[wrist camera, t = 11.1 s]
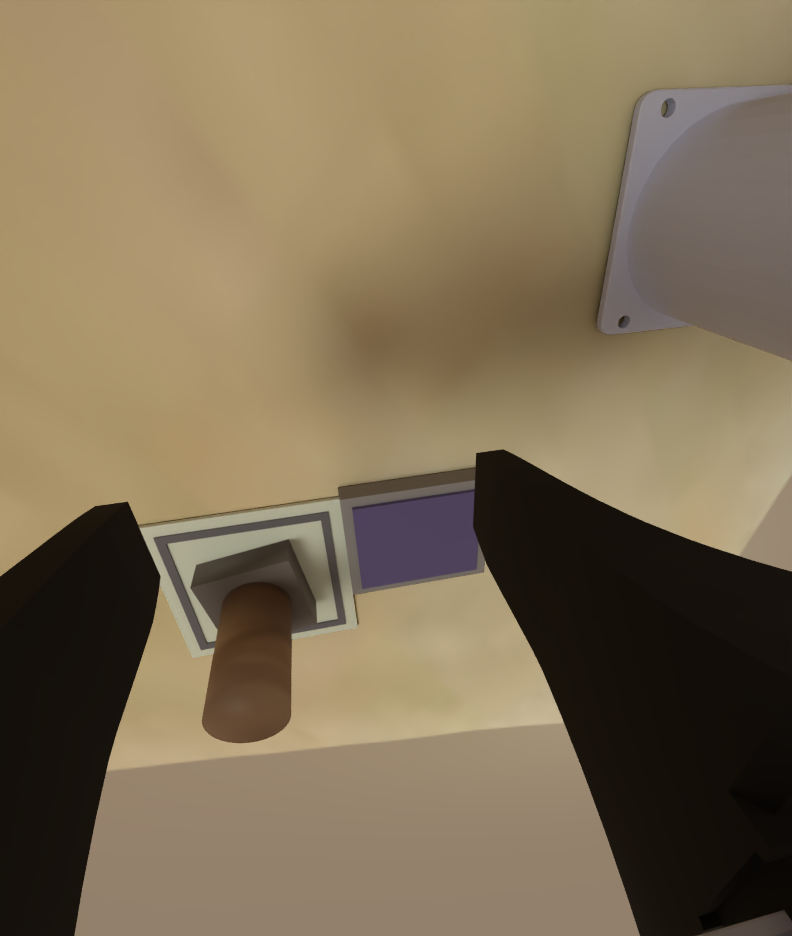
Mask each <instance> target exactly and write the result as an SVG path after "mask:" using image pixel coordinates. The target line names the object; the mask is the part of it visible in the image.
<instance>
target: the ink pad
mask: <svg viewBox="0 0 792 936" xmlns="http://www.w3.org/2000/svg"><path fill="white" fill-rule="evenodd" d="M475 471H476V468H472V469H465V470H458V471H451V472H444V473H437V474H430V475H423V476H416V477H409V478H402V479H395V480H388V481H381V482H374V483H367V484H360V485H353V486H346V487H339V488H338V492H339V499H340V507H341V514H342V521H343V528H344V535H345V542H346V549H347V556H348V563H349V570H350V577H351V584H352V591H353V595H356V594H361V593H367V592H373V591H379V590H384V589H390V588H396V587H402V586H407V585H413V584H419V583H425V582H430V581H436V580H442V579H448V578H453V577H459V576H465V575H471V574H477V573H482V572H484V565H485V558H484V556H483V553H482V551H481V548H480V545H479V543H478V540H477V537H476V534H475V531H474V529H473V513H474V492H475Z"/></svg>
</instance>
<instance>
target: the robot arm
mask: <svg viewBox="0 0 792 936" xmlns="http://www.w3.org/2000/svg"><path fill="white" fill-rule="evenodd" d="M664 101H666V102H667V104H668V110H667V112H666V114H665V116H664V117H663V116H662V115H661V107H662V104H663V103H664ZM622 316H624V321H623V323H622V324H621V325H618V321H619V319H620V318H621V317H622ZM686 326H696V327H699V328H702V329H705V330H708V331H710V332H713V333H716V334H719V335H721V336H724V337H727V338H730V339H732V340H735V341H738V342H741V343H744V344H746V345H749V346H752V347H755V348H757V349H760V350H763V351H766V352H768V353H771V354H774V355H777V356H780V357H782V358H785V359H788V360H791V361H792V84H788V85H762V86H736V87H710V88H684V89H658V90H653V91H650V92H647V93H645V94H644V95H642V96H641V97H640V99H639V100H638V102H637V103H636V107H635V110H634V115H633V120H632V126H631V132H630V137H629V143H628V149H627V154H626V160H625V166H624V171H623V177H622V183H621V188H620V194H619V200H618V205H617V211H616V217H615V222H614V228H613V234H612V239H611V245H610V251H609V256H608V262H607V268H606V273H605V279H604V285H603V290H602V296H601V302H600V307H599V313H598V319H597V328H598V330H599V331H600V332H602V333H604V334H606V335H614V334H623V333H632V332H641V331H650V330H659V329H668V328H677V327H686ZM473 529H474V531H475V534H476V537H477V540H478V543H479V545H480V548H481V551H482V553H483V556H484V558H485V561H486V564H487V566H488V568H489V570H490V572H491V574H492V575H493V577H494V579H495V581H496V583H497V585H498V587H499V589H500V591H501V592H502V594H503V596H504V598H505V600H506V602H507V604H508V605H509V607H510V609H511V611H512V613H513V615H514V616H515V618H516V620H517V622H518V624H519V626H520V628H521V629H522V631H523V633H524V635H525V637H526V639H527V641H528V642H529V644H530V646H531V648H532V650H533V652H534V654H535V656H536V658H537V660H538V662H539V664H540V666H541V668H542V670H543V673H544V675H545V678H546V680H547V682H548V685H549V687H550V690H551V692H552V694H553V697H554V699H555V702H556V704H557V706H558V709H559V711H560V714H561V716H562V719H563V721H564V724H565V726H566V729H567V731H568V734H569V736H570V739H571V741H572V744H573V747H574V749H575V752H576V754H577V757H578V759H579V762H580V764H581V767H582V770H583V772H584V775H585V778H586V781H587V783H588V786H589V788H590V791H591V794H592V797H593V800H594V802H595V805H596V808H597V811H598V813H599V816H600V819H601V821H602V824H603V827H604V829H605V833H606V835H607V838H608V841H609V844H610V847H611V850H612V853H613V856H614V859H615V862H616V865H617V868H618V870H619V873H620V876H621V879H622V882H623V885H624V888H625V891H626V894H627V897H628V900H629V903H630V906H631V909H632V912H633V915H634V918H635V921H636V924H637V928H638V930H639V934H640V936H792V572H791V571H787V570H784V569H780V568H776V567H773V566H770V565H766V564H763V563H759V562H756V561H752V560H749V559H746V558H743V557H740V556H737V555H734V554H731V553H728V552H724V551H721V550H718V549H715V548H712V547H709V546H706V545H703V544H701V543H698V542H695V541H692V540H689V539H687V538H684V537H681V536H679V535H676V534H674V533H671V532H669V531H666V530H664V529H661V528H659V527H656V526H654V525H651V524H649V523H646V522H644V521H642V520H639V519H637V518H635V517H632V516H630V515H628V514H626V513H624V512H622V511H620V510H618V509H615V508H613V507H611V506H609V505H607V504H605V503H603V502H601V501H599V500H597V499H595V498H593V497H591V496H589V495H587V494H585V493H583V492H581V491H579V490H577V489H576V488H574V487H572V486H570V485H568V484H566V483H564V482H563V481H561V480H559V479H557V478H555V477H554V476H552V475H550V474H548V473H546V472H545V471H543V470H541V469H539V468H538V467H536V466H534V465H532V464H530V463H529V462H527V461H525V460H523V459H521V458H519V457H518V456H516V455H514V454H512V453H510V452H508V451H505V450H495V451H488V452H481V453H476V471H475V492H474V513H473ZM160 578H161V576H160V574H159V572H158V569H157V567H156V565H155V562H154V560H153V558H152V556H151V553H150V551H149V549H148V547H147V544H146V542H145V540H144V537H143V535H142V533H141V531H140V528H139V526H138V524H137V522H136V519H135V517H134V515H133V512H132V510H131V508H130V506H129V503H128V502H123V503H115V504H108V505H101V506H95V507H93V508H92V509H90V510H89V511H87V512H85V513H84V514H82V515H81V516H80V517H78V518H77V519H75V520H74V521H73V522H71V523H70V524H69V525H67V526H66V527H65V528H63V529H62V530H61V531H59V532H58V533H57V534H55V535H54V536H53V537H51V538H50V539H49V540H47V541H46V542H45V543H44V544H42V545H41V546H40V547H38V548H37V549H36V550H34V551H33V552H32V553H30V554H29V555H28V556H27V557H25V558H24V559H23V560H21V561H20V562H19V563H17V564H16V565H15V566H13V567H12V568H11V569H9V570H8V571H7V572H6V573H4V574H3V575H2V576H0V936H74V934H75V928H76V922H77V916H78V910H79V904H80V897H81V892H82V886H83V881H84V875H85V870H86V865H87V860H88V855H89V850H90V844H91V839H92V835H93V829H94V824H95V819H96V815H97V810H98V806H99V801H100V797H101V792H102V788H103V783H104V779H105V774H106V770H107V765H108V761H109V757H110V754H111V750H112V747H113V743H114V740H115V736H116V733H117V730H118V727H119V724H120V721H121V718H122V715H123V712H124V709H125V706H126V703H127V700H128V697H129V694H130V691H131V688H132V685H133V682H134V679H135V676H136V673H137V670H138V667H139V664H140V661H141V658H142V655H143V652H144V649H145V646H146V643H147V639H148V636H149V633H150V630H151V627H152V623H153V619H154V614H155V609H156V604H157V598H158V591H159V585H160Z"/></svg>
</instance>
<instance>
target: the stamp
mask: <svg viewBox="0 0 792 936" xmlns="http://www.w3.org/2000/svg"><path fill="white" fill-rule="evenodd" d="M190 588H191V590H192V592H193V593H194V595H195V596H196V598H197V599H198V601H199V602H200V604H201V605H202V607H203V608H204V610H205V612H206V613H207V615H208V616H209V618H210V619H211V621H212V622H213V624H214V625H215V627H216V629H217V630H218V631H217V637H216V642H215V648H214V654H213V660H212V665H211V671H210V677H209V683H208V688H207V694H206V700H205V706H204V711H203V717H202V725H203V727H204V729H205V731H206V732H207V733H208V734H210V735H211V736H213V737H214V738H216V739H219V740H222V741H226V742H232V743H249V742H256V741H260V740H264V739H266V738H269V737H271V736H273V735H275V734H277V733H279V732H280V731H281V730H283V729H284V728H285V727H286V726H287V724H288V723H289V721H290V718H291V657H292V631H294V630H297V629H300V628H304V627H307V626H311V625H314V624H317V609H316V600H315V598H314V595H313V593H312V591H311V589H310V586H309V584H308V582H307V579H306V577H305V575H304V573H303V570H302V568H301V566H300V564H299V561H298V559H297V557H296V555H295V552H294V550H293V548H292V545H291V543H290V541H289V539H287V540H284V541H280V542H277V543H273V544H269V545H266V546H262V547H259V548H255V549H251V550H248V551H244V552H241V553H237V554H233V555H230V556H226V557H223V558H219V559H215V560H212V561H208V562H205V563H201V564H198V565H196V568H195V571H194V575H193V579H192V583H191V587H190Z"/></svg>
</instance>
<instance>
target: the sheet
mask: <svg viewBox="0 0 792 936" xmlns="http://www.w3.org/2000/svg"><path fill="white" fill-rule="evenodd" d="M139 528H140V531H141V533H142V535H143V537H144V540H145V542H146V544H147V547H148V549H149V551H150V553H151V556H152V558H153V560H154V562H155V565H156V567H157V569H158V572H159V574H160V576H161V578H160V586H161V588H162V590H163V592H164V595H165V597H166V599H167V601H168V604H169V606H170V608H171V610H172V613H173V615H174V617H175V619H176V621H177V624H178V626H179V628H180V630H181V633H182V635H183V637H184V639H185V642H186V644H187V646H188V648H189V651H190V653H191V655H192V657H193V658H195V657H201V656H206V655H212V654H214V648H215V642H216V637H217V631H218V630H217V629H216V627H215V625H214V624H213V622H212V621H211V619H210V618H209V616H208V615H207V613H206V612H205V610H204V608H203V607H202V605H201V604H200V602H199V601H198V599H197V598H196V596H195V595H194V593H193V592H192V590H191V588H190V587H191V583H192V579H193V575H194V571H195V568H196V565H198V564H201V563H205V562H208V561H212V560H215V559H219V558H223V557H226V556H230V555H233V554H237V553H241V552H244V551H248V550H251V549H255V548H259V547H262V546H266V545H269V544H273V543H277V542H280V541H284V540H287V539H289V541H290V543H291V545H292V548H293V550H294V552H295V555H296V557H297V559H298V561H299V564H300V566H301V568H302V570H303V573H304V575H305V577H306V579H307V582H308V584H309V586H310V589H311V591H312V593H313V595H314V598H315V600H316V609H317V624H314V625H311V626H307V627H304V628H300V629H297V630H294V631H292V640H294V639H299V638H305V637H310V636H316V635H321V634H327V633H332V632H337V631H343V630H348V629H354V628H358V626H357V619H356V612H355V605H354V598H353V591H352V584H351V577H350V570H349V563H348V556H347V549H346V542H345V535H344V528H343V521H342V514H341V507H340V499H339V497H332V498H326V499H319V500H312V501H305V502H298V503H291V504H284V505H278V506H271V507H264V508H257V509H250V510H243V511H237V512H230V513H223V514H216V515H209V516H202V517H196V518H189V519H182V520H175V521H168V522H161V523H154V524H148V525H141V526H139Z"/></svg>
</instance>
